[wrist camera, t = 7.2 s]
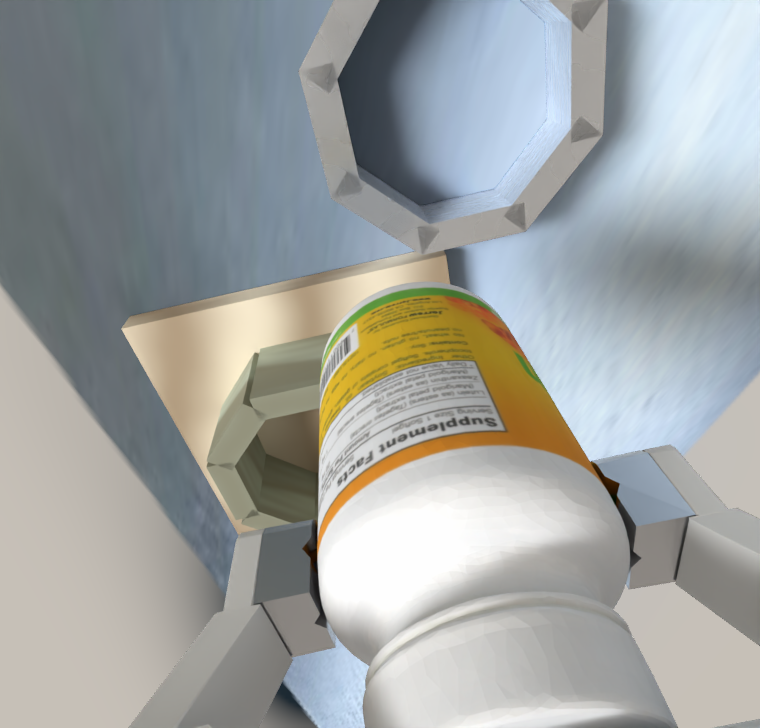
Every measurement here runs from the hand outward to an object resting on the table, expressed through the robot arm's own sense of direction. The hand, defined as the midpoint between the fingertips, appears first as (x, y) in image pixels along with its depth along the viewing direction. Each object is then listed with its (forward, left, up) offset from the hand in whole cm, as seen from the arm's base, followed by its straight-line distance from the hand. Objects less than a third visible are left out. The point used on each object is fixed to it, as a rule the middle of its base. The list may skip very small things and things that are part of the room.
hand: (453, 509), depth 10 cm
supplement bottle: (0, 0, -6) cm, 6 cm away
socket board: (+5, +8, -16) cm, 18 cm away
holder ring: (-4, -5, -16) cm, 17 cm away
